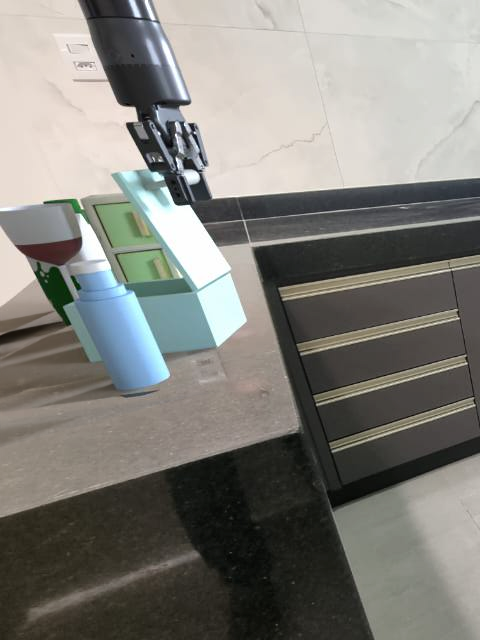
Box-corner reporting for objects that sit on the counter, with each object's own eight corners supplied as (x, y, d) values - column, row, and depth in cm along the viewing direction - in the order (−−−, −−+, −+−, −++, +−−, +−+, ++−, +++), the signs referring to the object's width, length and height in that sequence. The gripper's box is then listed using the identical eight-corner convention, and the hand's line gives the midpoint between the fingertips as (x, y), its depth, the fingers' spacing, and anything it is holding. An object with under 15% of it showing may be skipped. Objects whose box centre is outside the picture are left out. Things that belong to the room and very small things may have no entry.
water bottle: (109, 400, 64) (44, 270, 57) (133, 382, 68) (75, 259, 62) (160, 393, 65) (102, 265, 58) (180, 375, 69) (128, 255, 63)
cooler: (93, 368, 73) (62, 306, 69) (139, 338, 83) (115, 283, 79) (219, 352, 76) (196, 293, 73) (249, 326, 87) (230, 272, 83)
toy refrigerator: (136, 331, 86) (77, 198, 78) (145, 319, 92) (91, 194, 84) (197, 321, 90) (146, 193, 82) (202, 310, 96) (155, 190, 87)
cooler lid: (110, 174, 65) (158, 160, 66) (158, 168, 76) (199, 156, 77) (192, 291, 73) (234, 277, 73) (226, 270, 83) (263, 259, 84)
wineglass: (43, 344, 82) (-27, 212, 74) (84, 325, 90) (25, 204, 82) (102, 338, 84) (40, 209, 75) (138, 321, 91) (85, 201, 83)
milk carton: (131, 317, 93) (78, 200, 85) (59, 330, 88) (-5, 207, 80) (130, 307, 99) (80, 196, 91) (62, 319, 94) (4, 202, 86)
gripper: (146, 56, 61) (204, 206, 68) (199, 69, 74) (244, 195, 81) (68, 58, 60) (135, 212, 67) (136, 71, 72) (187, 199, 79)
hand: (195, 202), depth 74 cm, fingers closed on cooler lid, 5 cm apart
